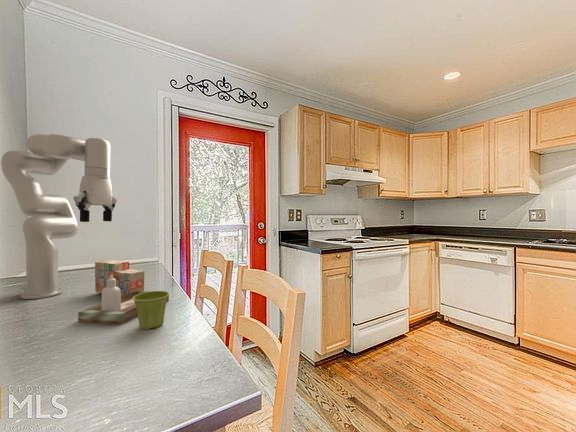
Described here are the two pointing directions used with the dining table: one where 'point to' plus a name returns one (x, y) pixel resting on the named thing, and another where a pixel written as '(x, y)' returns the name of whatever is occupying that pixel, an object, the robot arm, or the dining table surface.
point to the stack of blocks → (118, 276)
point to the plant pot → (151, 308)
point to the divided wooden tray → (112, 312)
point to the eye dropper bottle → (111, 296)
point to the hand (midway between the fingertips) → (96, 221)
